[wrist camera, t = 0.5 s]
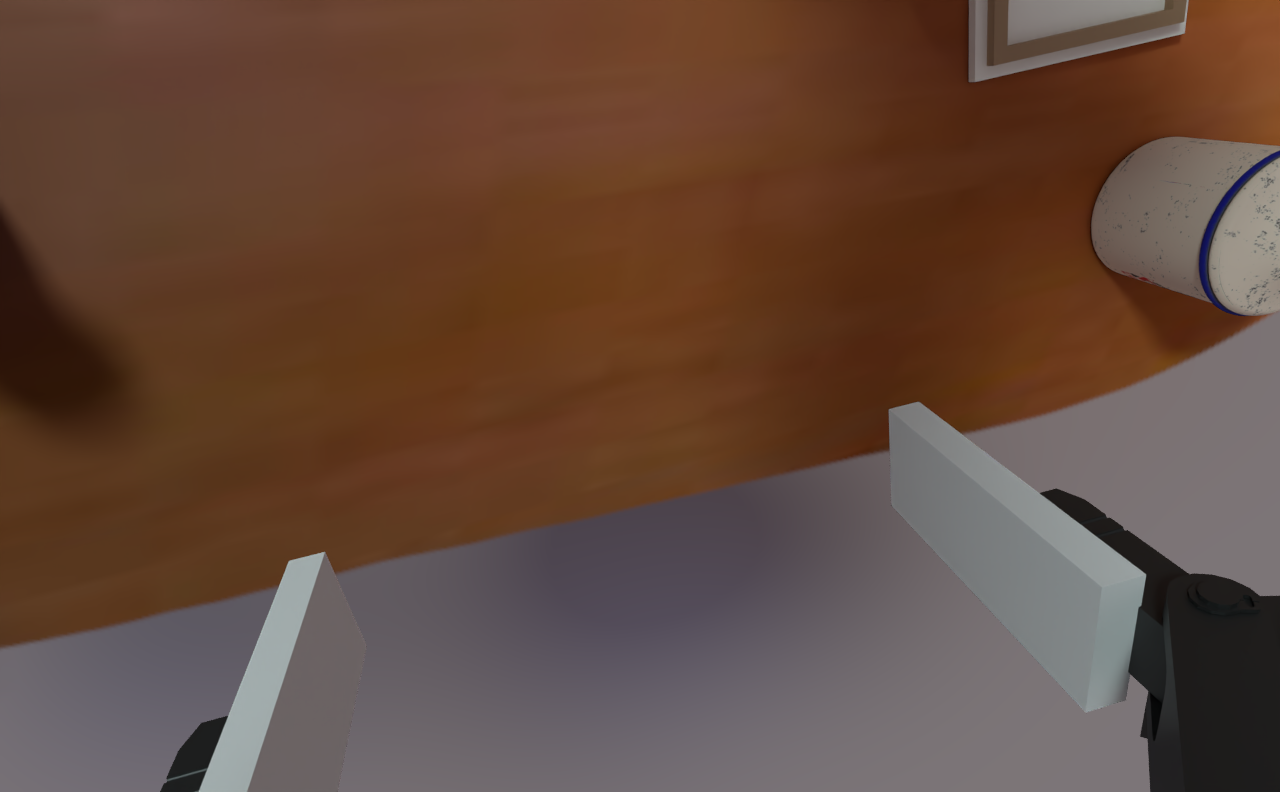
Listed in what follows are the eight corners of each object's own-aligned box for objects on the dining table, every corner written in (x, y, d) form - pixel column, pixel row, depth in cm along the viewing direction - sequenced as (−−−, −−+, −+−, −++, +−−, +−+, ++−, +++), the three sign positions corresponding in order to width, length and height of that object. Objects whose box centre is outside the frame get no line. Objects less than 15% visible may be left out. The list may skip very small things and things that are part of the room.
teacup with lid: (1087, 297, 49) (1253, 359, 38) (1079, 162, 45) (1263, 191, 34) (1250, 232, 49) (1458, 276, 39) (1257, 93, 45) (1492, 99, 35)
